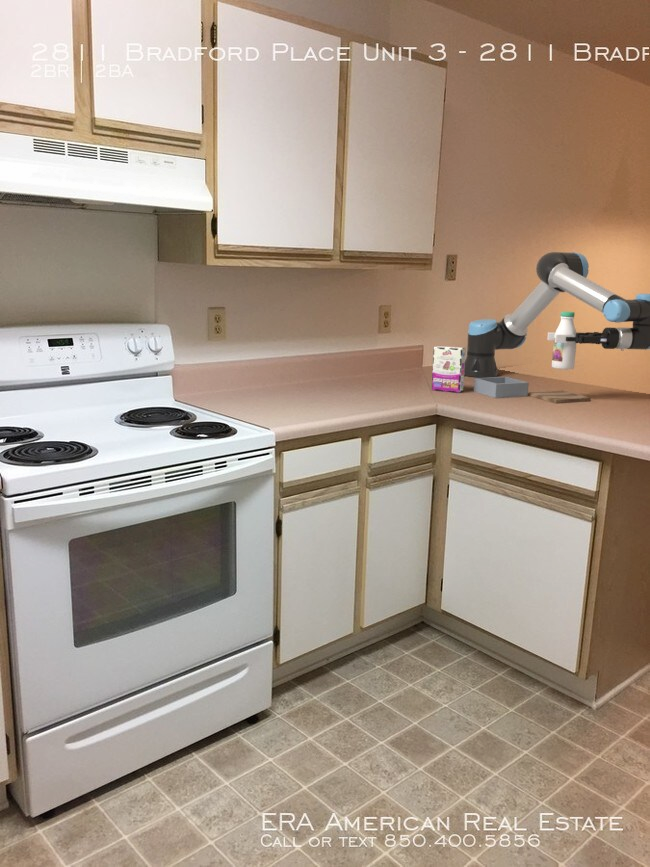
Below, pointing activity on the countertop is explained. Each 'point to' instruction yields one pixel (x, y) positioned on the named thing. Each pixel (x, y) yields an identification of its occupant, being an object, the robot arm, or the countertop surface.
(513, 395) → the box
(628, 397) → the countertop surface
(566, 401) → the walnut board
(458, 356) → the candy bar box
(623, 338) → the robot arm
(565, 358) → the milk bottle
